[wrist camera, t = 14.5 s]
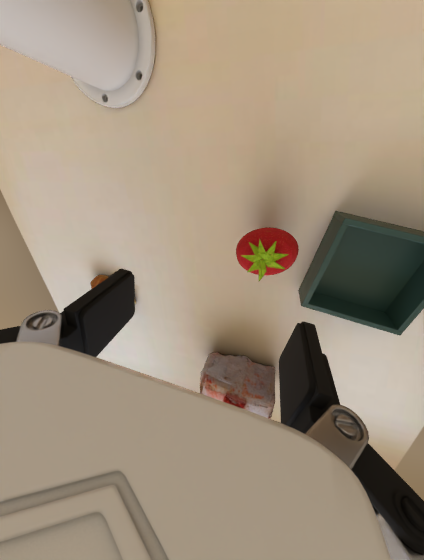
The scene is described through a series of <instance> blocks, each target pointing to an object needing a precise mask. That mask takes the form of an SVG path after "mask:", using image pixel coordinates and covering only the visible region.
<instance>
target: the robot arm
mask: <svg viewBox="0 0 424 560" xmlns="http://www.w3.org/2000/svg"><path fill="white" fill-rule="evenodd" d="M0 45H2V46H4V47H6V48H8V49H11V50H13V51H15V52H17V53H20V54H22V55H24V56H26V57H29V58H31V59H33V60H35V61H38V62H40V63H42V64H44V65H47V66H49V67H51V68H53V69H56V70H58V71H60V72H62V73H65V74H67V75H69V76H71V78H72V79H73V81H74V82H75V84H76V85H77V86H78V88H79V89H80V90H81V91H82V92H83V93H84V94H85V95H86V96H87V97H88V98H90V99H91V100H93V101H94V102H96V103H98V104H101V105H103V106H106V107H110V108H121V107H125V106H128V105H129V104H131V103H133V102H134V101H135V100H136V99H137V98H138V97H139V96H140V95H141V94H142V92H143V91H144V89H145V88H146V86H147V84H148V81H149V79H150V77H151V73H152V69H153V65H154V59H155V49H156V46H155V29H154V22H153V17H152V13H151V10H150V6H149V3H148V0H0ZM141 77H142V79H141ZM134 312H135V289H134V275H133V274H132V272H131V271H128V270H124V269H119V270H118V271H117V272H115V273H114V274H112V275H111V276H110V277H108V278H107V279H105V280H104V281H102V282H101V283H100V284H98V285H97V286H95V287H94V288H93V289H91V290H90V291H88V292H87V293H86V294H84V295H83V296H81V297H80V298H79V299H77V300H76V301H74V302H73V303H71V304H70V305H69V306H67V307H66V308H64V311H63V312H62V313H59V312H57V311H52V310H44V311H39V312H36V313H33V314H31V315H29V316H28V317H26V318H25V319H24V321H23V322H22V324H21V326H17V327H13V328H7V329H2V330H0V560H424V501H423V500H422V499H421V498H420V497H419V496H418V495H417V494H416V493H415V492H414V491H413V489H412V488H411V487H410V486H409V485H408V484H407V483H406V482H405V481H404V480H403V479H402V478H401V477H400V476H399V475H398V474H397V473H396V472H395V471H394V470H393V469H392V468H391V467H390V466H389V465H388V463H387V462H386V461H385V460H384V459H383V458H382V457H381V456H380V455H379V454H378V453H377V452H376V451H375V450H374V449H373V448H372V447H371V446H370V445H369V444H368V440H369V435H368V431H367V428H366V426H365V424H364V423H363V421H362V420H361V419H360V418H359V417H358V415H357V414H356V413H354V412H353V411H352V410H350V409H349V408H347V407H345V406H342V405H340V402H339V399H338V395H337V392H336V388H335V385H334V381H333V378H332V374H331V370H330V367H329V363H328V360H327V357H326V355H325V354H322V351H321V347H320V343H319V339H318V336H317V332H316V328H315V325H314V324H310V323H307V322H302V323H301V324H300V323H298V324H297V325H296V327H295V329H294V331H293V333H292V335H291V337H290V339H289V341H288V343H287V344H286V346H285V348H284V350H283V352H282V354H281V356H280V359H279V379H280V407H281V423H280V422H277V421H274V420H272V419H269V418H266V417H264V416H261V415H258V414H256V413H253V412H250V411H248V410H245V409H242V408H239V407H237V406H234V405H231V404H228V403H225V402H223V401H220V400H217V399H214V398H211V397H209V396H206V395H203V394H200V393H197V392H194V391H192V390H189V389H186V388H183V387H180V386H177V385H174V384H172V383H169V382H166V381H163V380H160V379H157V378H154V377H152V376H149V375H146V374H143V373H140V372H137V371H134V370H131V369H128V368H125V367H123V366H120V365H117V364H114V363H111V362H108V361H105V360H102V359H99V358H96V357H97V356H98V355H99V353H100V352H101V351H102V350H103V349H104V348H105V347H106V346H107V344H108V343H109V342H110V341H111V340H112V339H113V338H114V337H115V336H116V334H117V333H118V332H119V331H120V330H121V329H122V328H123V327H124V326H125V324H126V323H127V322H128V321H129V320H130V319H131V318H132V317H133V315H134Z"/></svg>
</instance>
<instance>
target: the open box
mask: <svg viewBox="0 0 424 560" xmlns="http://www.w3.org/2000/svg"><path fill="white" fill-rule="evenodd" d="M299 295H300V301H301V306H303V307H307V308H310V309H313V310H317V311H320V312H323V313H327V314H330V315H333V316H337V317H340V318H343V319H347V320H350V321H353V322H357V323H360V324H363V325H367V326H370V327H373V328H377V329H380V330H383V331H387V332H390V333H393V334H397V335H401V334H402V333H403V332H404V330H405V329H406V328H407V327H408V326H409V325H410V324H411V322H412V321H413V320H414V319H415V318H416V317H417V315H418V314H419V313H420V312H421V311H422V310H423V308H424V231H419V230H415V229H411V228H407V227H402V226H398V225H394V224H389V223H385V222H381V221H377V220H372V219H368V218H364V217H360V216H355V215H351V214H347V213H343V212H338V211H335V214H334V216H333V218H332V220H331V222H330V224H329V226H328V229H327V231H326V233H325V235H324V237H323V239H322V241H321V244H320V246H319V248H318V250H317V252H316V254H315V256H314V259H313V261H312V263H311V265H310V267H309V269H308V271H307V274H306V276H305V278H304V280H303V282H302V284H301V286H300V289H299Z"/></svg>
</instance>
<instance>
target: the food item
mask: <svg viewBox="0 0 424 560" xmlns="http://www.w3.org/2000/svg"><path fill="white" fill-rule="evenodd" d="M200 394H203V395H206V396H209V397H211V398H214V399H217V400H220V401H223V402H225V403H228V404H231V405H234V406H237V407H239V408H242V409H245V410H248V411H250V412H253V413H256V414H258V415H261V416H264V417H266V418H271V417H272V412H273V408H274V404H275V367H270V366H263V365H262V364H257V363H254V362H252V361H251V360H250V359H249V358H248V357H246V356H239V355H238V356H236V357H235V356H233V355H227V356H225V355H221V354H219V353H218V352H217V353H214V352H212V353H210V354H209V357H208V358H207V360H206V363H205V365H204V368H203V370H202V372H201V378H200ZM270 415H271V416H270Z"/></svg>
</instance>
